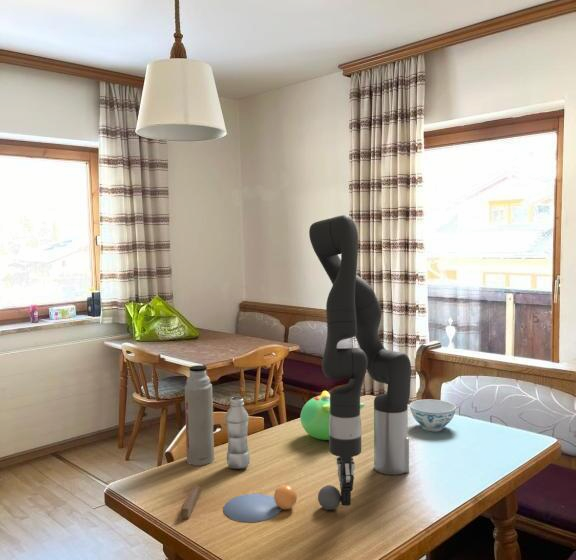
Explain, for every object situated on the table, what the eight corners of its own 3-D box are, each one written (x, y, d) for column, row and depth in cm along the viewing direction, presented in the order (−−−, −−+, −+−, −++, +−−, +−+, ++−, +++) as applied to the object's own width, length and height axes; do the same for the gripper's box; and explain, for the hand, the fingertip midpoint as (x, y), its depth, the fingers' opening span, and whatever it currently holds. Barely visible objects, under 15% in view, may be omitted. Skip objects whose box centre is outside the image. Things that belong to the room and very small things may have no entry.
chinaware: (461, 435, 184) (461, 412, 183) (414, 436, 184) (414, 412, 184) (448, 420, 199) (448, 399, 198) (405, 421, 199) (405, 399, 199)
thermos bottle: (185, 466, 163) (182, 370, 161) (188, 455, 171) (185, 364, 169) (213, 464, 164) (210, 369, 161) (214, 454, 171) (212, 363, 169)
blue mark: (283, 494, 144) (283, 494, 144) (279, 522, 130) (279, 521, 130) (228, 494, 145) (228, 493, 144) (218, 521, 131) (218, 520, 131)
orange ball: (297, 502, 139) (297, 481, 139) (296, 513, 134) (296, 491, 133) (275, 502, 140) (274, 481, 139) (273, 513, 134) (272, 490, 134)
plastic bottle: (246, 472, 158) (245, 402, 156) (223, 471, 159) (221, 401, 157) (252, 463, 164) (251, 395, 162) (230, 462, 165) (228, 394, 164)
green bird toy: (336, 425, 196) (335, 383, 194) (367, 440, 181) (367, 395, 180) (291, 435, 186) (291, 392, 185) (320, 452, 172) (320, 404, 171)
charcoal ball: (345, 490, 138) (327, 476, 138) (345, 501, 133) (327, 487, 133) (331, 507, 139) (313, 493, 139) (331, 518, 133) (312, 504, 133)
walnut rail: (199, 495, 144) (199, 486, 144) (188, 519, 132) (188, 508, 132) (193, 495, 144) (193, 486, 144) (182, 519, 132) (181, 508, 132)
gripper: (364, 442, 127) (365, 517, 128) (357, 423, 140) (358, 491, 141) (331, 442, 127) (332, 517, 128) (327, 423, 140) (328, 492, 141)
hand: (345, 504), depth 134 cm, fingers closed
